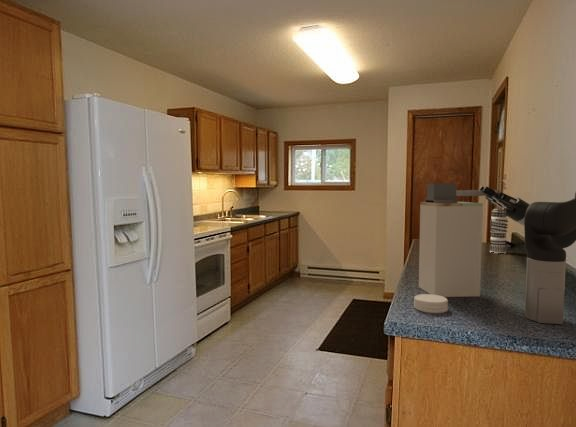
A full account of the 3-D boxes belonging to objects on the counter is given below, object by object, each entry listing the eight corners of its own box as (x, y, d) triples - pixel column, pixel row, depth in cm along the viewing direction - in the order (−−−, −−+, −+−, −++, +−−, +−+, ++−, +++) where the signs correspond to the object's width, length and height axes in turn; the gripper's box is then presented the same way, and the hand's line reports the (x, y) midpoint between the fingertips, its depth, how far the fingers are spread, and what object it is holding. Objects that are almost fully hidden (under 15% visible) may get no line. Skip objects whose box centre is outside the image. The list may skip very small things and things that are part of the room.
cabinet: (460, 286, 149) (462, 198, 147) (480, 296, 135) (482, 199, 133) (418, 286, 149) (420, 198, 146) (434, 297, 135) (436, 199, 132)
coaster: (444, 316, 116) (444, 304, 115) (410, 310, 121) (410, 299, 121) (450, 307, 124) (450, 296, 124) (418, 302, 129) (418, 291, 129)
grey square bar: (492, 199, 144) (492, 183, 143) (502, 200, 138) (502, 182, 137) (426, 200, 142) (426, 183, 142) (433, 200, 136) (433, 183, 136)
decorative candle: (510, 252, 224) (512, 208, 222) (500, 254, 219) (502, 209, 218) (495, 250, 232) (496, 208, 230) (485, 251, 227) (486, 208, 226)
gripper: (515, 202, 148) (477, 179, 147) (540, 204, 135) (498, 179, 133) (505, 220, 149) (466, 197, 147) (529, 223, 135) (487, 198, 133)
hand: (482, 188), depth 140 cm, fingers closed on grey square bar
